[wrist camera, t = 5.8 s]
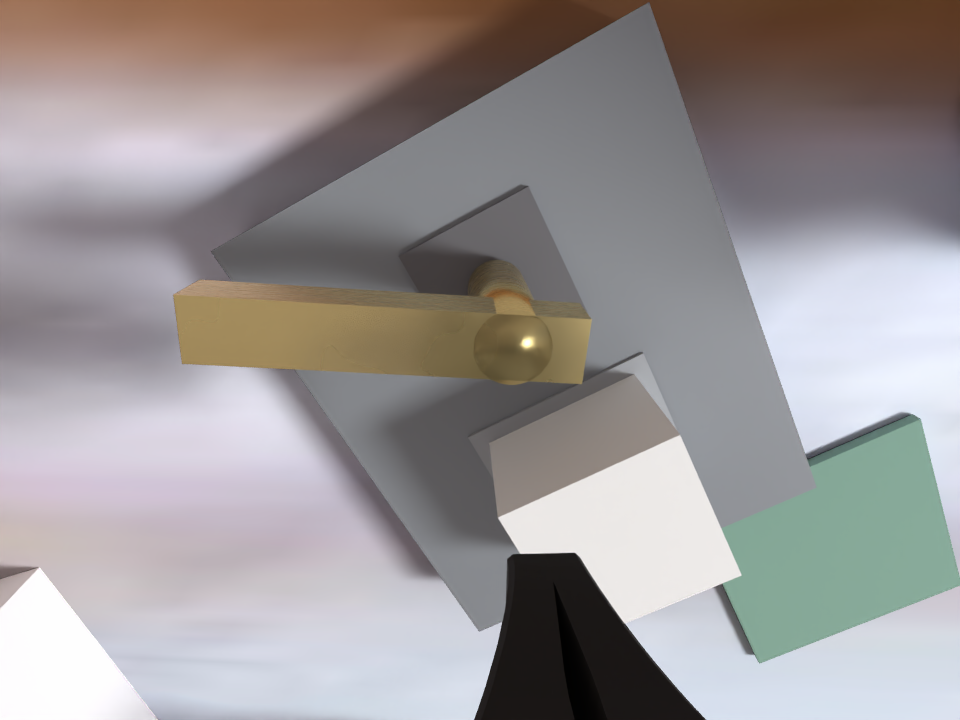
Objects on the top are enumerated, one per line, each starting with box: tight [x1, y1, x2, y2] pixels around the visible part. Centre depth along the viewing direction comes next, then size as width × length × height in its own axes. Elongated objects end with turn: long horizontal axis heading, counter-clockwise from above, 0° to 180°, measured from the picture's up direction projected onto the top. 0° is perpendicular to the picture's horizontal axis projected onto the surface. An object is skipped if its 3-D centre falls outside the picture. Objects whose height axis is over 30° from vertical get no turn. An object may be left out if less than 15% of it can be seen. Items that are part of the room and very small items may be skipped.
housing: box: [211, 2, 817, 631], centre depth 19 cm, size 13×16×3 cm
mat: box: [721, 414, 960, 663], centre depth 23 cm, size 9×9×1 cm
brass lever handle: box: [173, 260, 592, 385], centre depth 13 cm, size 2×8×5 cm, turn 85°
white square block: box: [489, 374, 742, 623], centre depth 17 cm, size 5×5×4 cm
